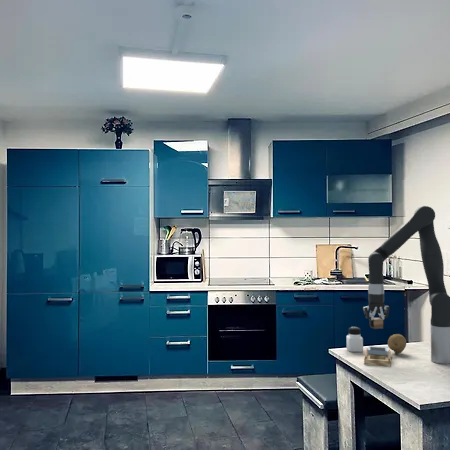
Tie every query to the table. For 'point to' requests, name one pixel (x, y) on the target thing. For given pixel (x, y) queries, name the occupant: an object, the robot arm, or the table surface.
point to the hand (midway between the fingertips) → (376, 326)
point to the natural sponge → (397, 343)
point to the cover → (378, 350)
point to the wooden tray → (377, 359)
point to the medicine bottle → (354, 340)
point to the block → (377, 323)
